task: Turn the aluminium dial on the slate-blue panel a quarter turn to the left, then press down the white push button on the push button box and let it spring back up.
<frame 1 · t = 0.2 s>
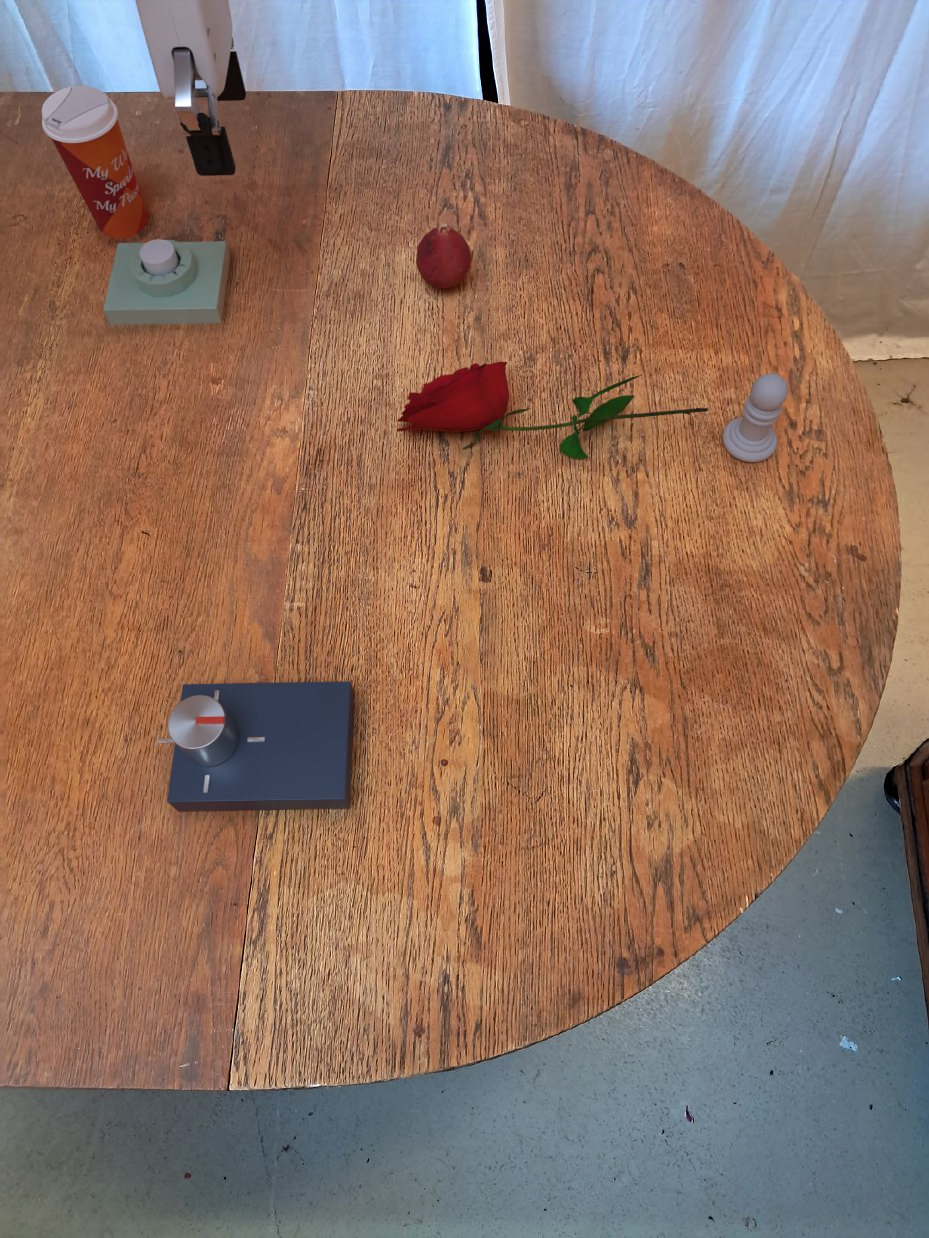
hand: (223, 135, 77), 21 cm above the table, tool pointing down, fingers open, 9 cm apart
white push button: (159, 257, 95), point 4 cm above the table, slide at 0.1 cm
chess piece: (747, 443, 89), on the table
push button box: (172, 290, 99), on the table
dial panel: (269, 751, 75), on the table
red round fruit: (444, 287, 99), on the table
dial: (203, 730, 70), point 5 cm above the table, hinge at 0.0°
flower: (545, 431, 90), on the table
paper cup: (124, 223, 104), on the table
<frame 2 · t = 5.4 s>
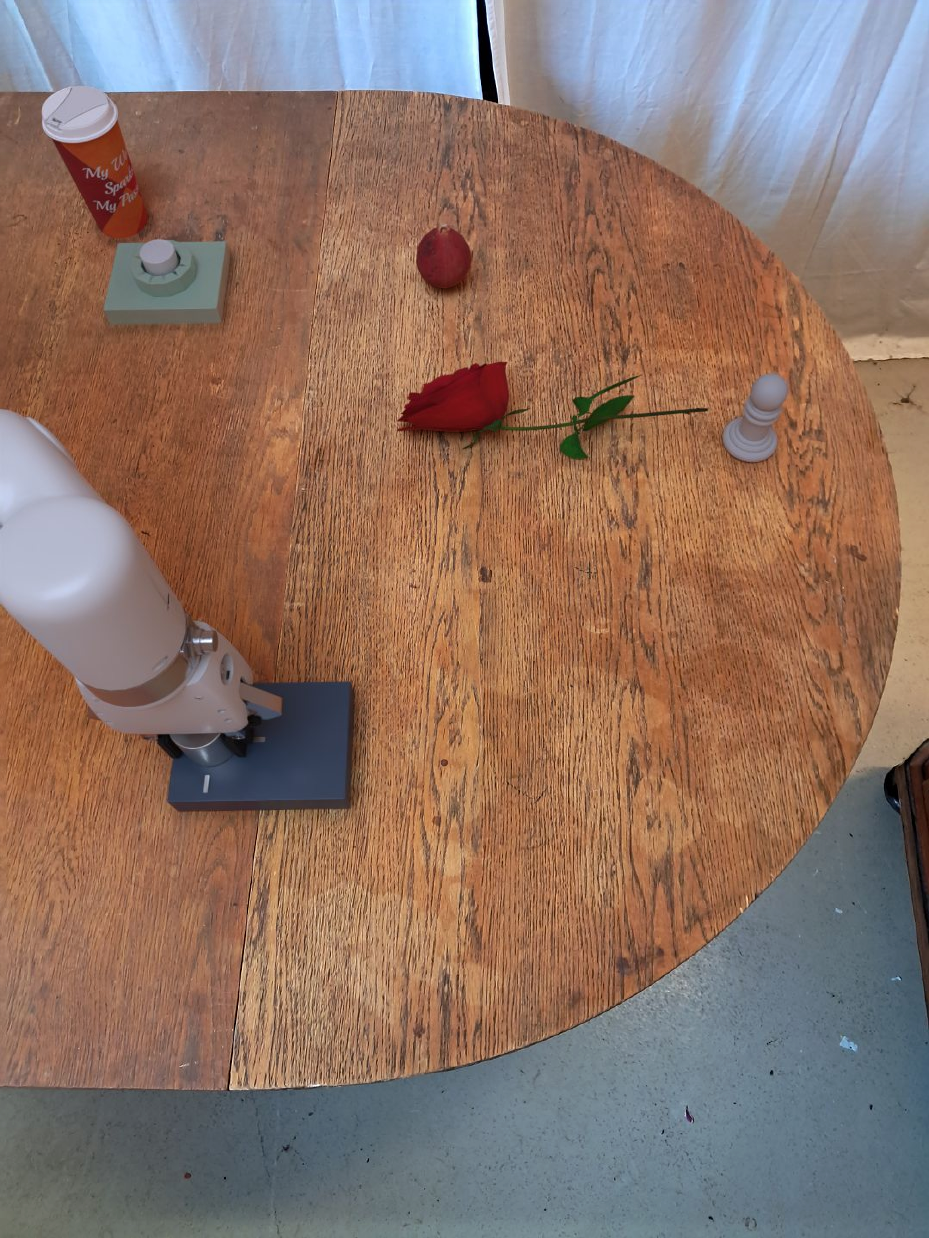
hand: (210, 739, 72), 3 cm above the table, tool pointing down, fingers closed on dial, 4 cm apart
dial: (203, 730, 70), point 5 cm above the table, hinge at 0.1°, touching gripper
everything else where it was.
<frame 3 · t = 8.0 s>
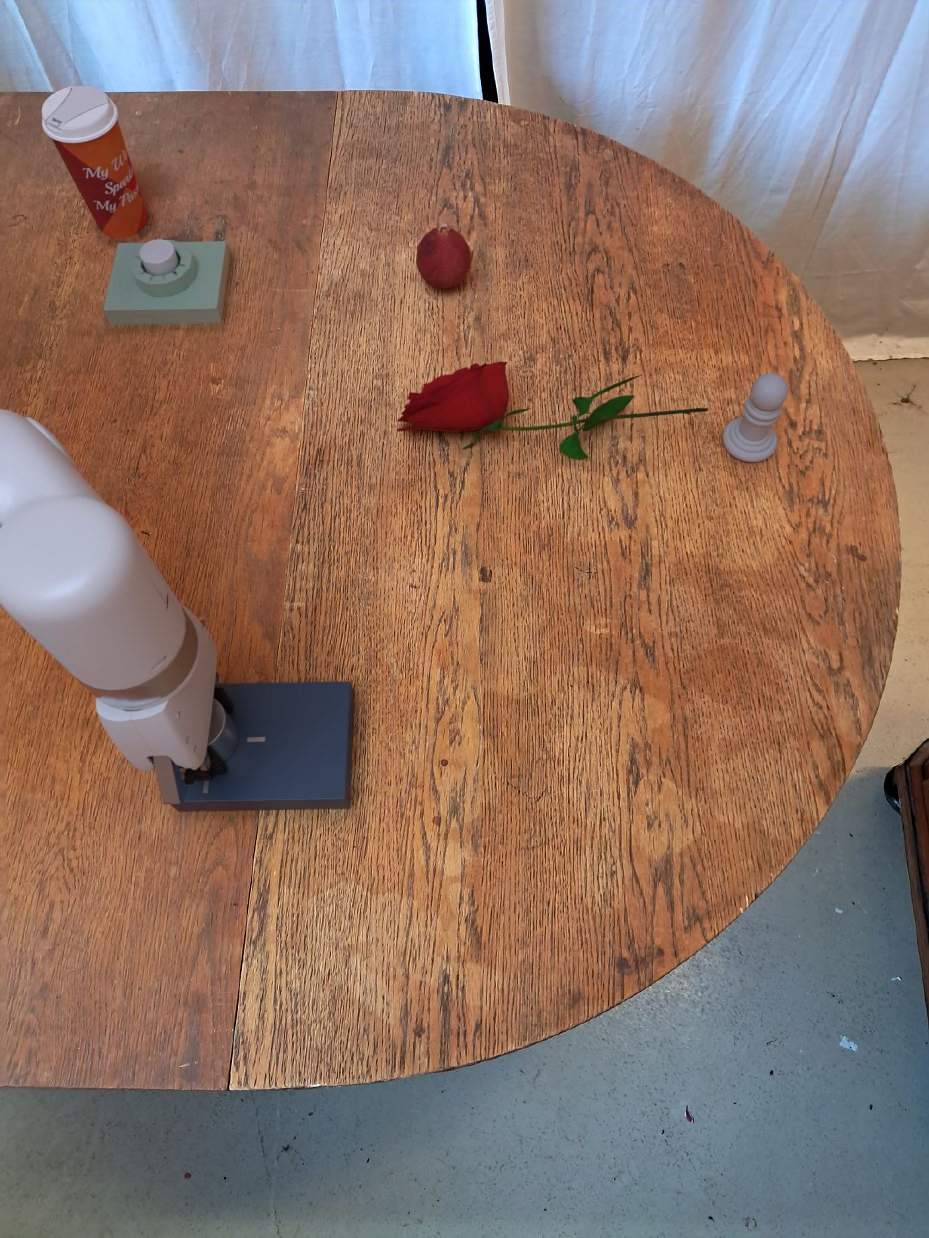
hand: (210, 739, 72), 3 cm above the table, tool pointing down, fingers closed on dial, 4 cm apart
dial: (203, 730, 70), point 5 cm above the table, hinge at 90.3°, touching gripper
everything else where it was.
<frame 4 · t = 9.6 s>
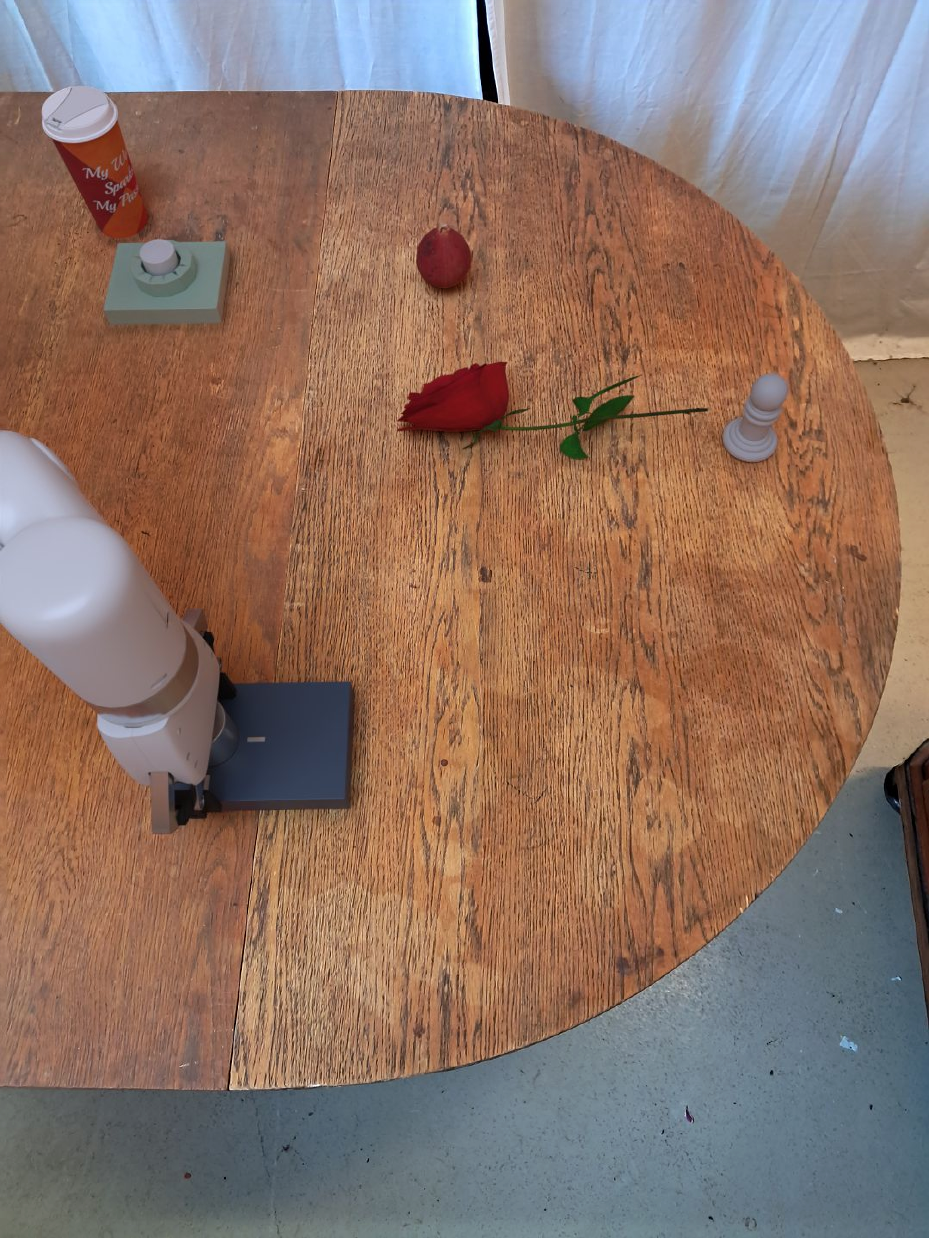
hand: (210, 750, 72), 3 cm above the table, tool pointing down, fingers open, 9 cm apart
dial: (203, 730, 70), point 5 cm above the table, hinge at 87.4°
everything else where it was.
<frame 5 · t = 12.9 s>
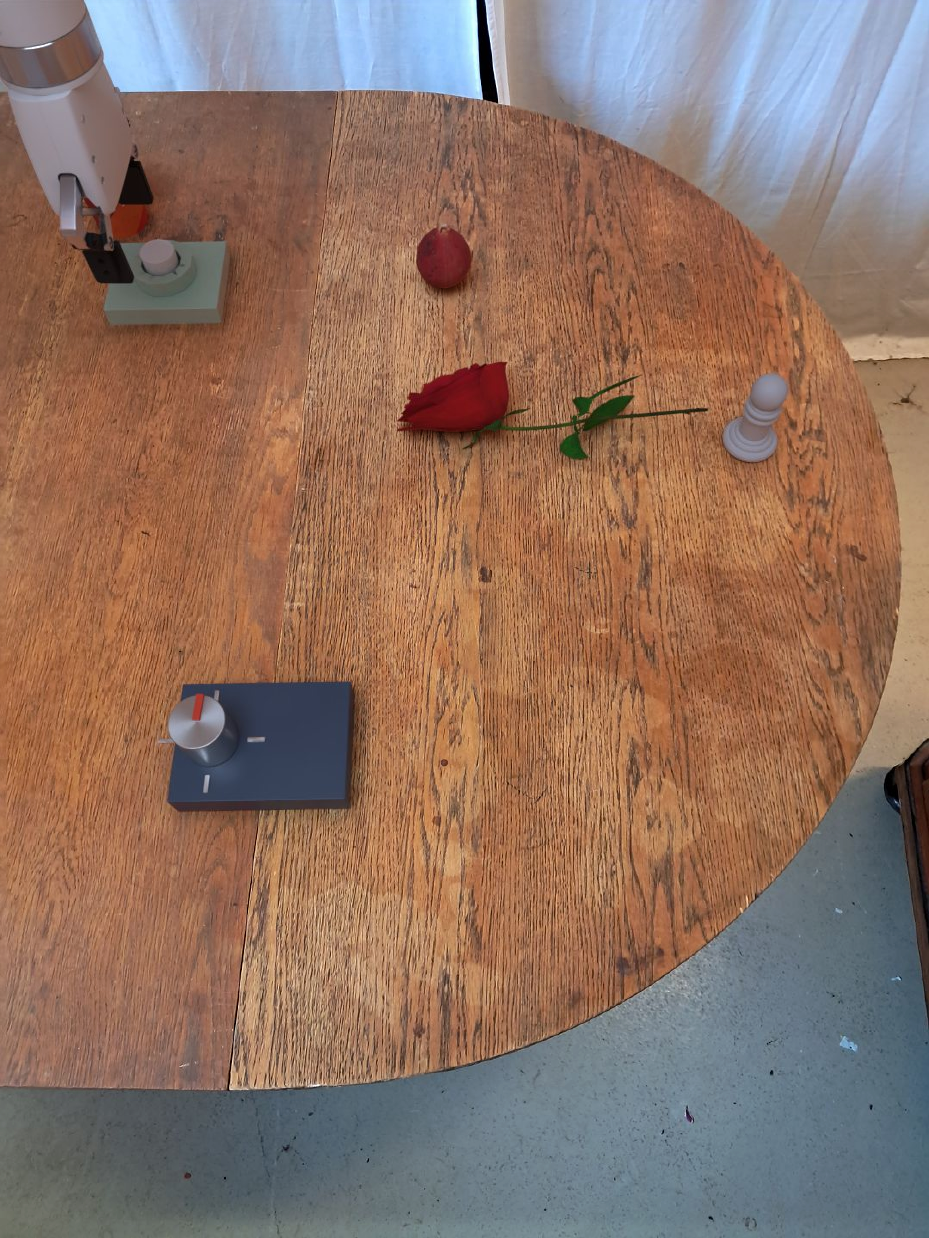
hand: (126, 240, 79), 16 cm above the table, tool pointing down, fingers open, 9 cm apart
nothing on the table moved.
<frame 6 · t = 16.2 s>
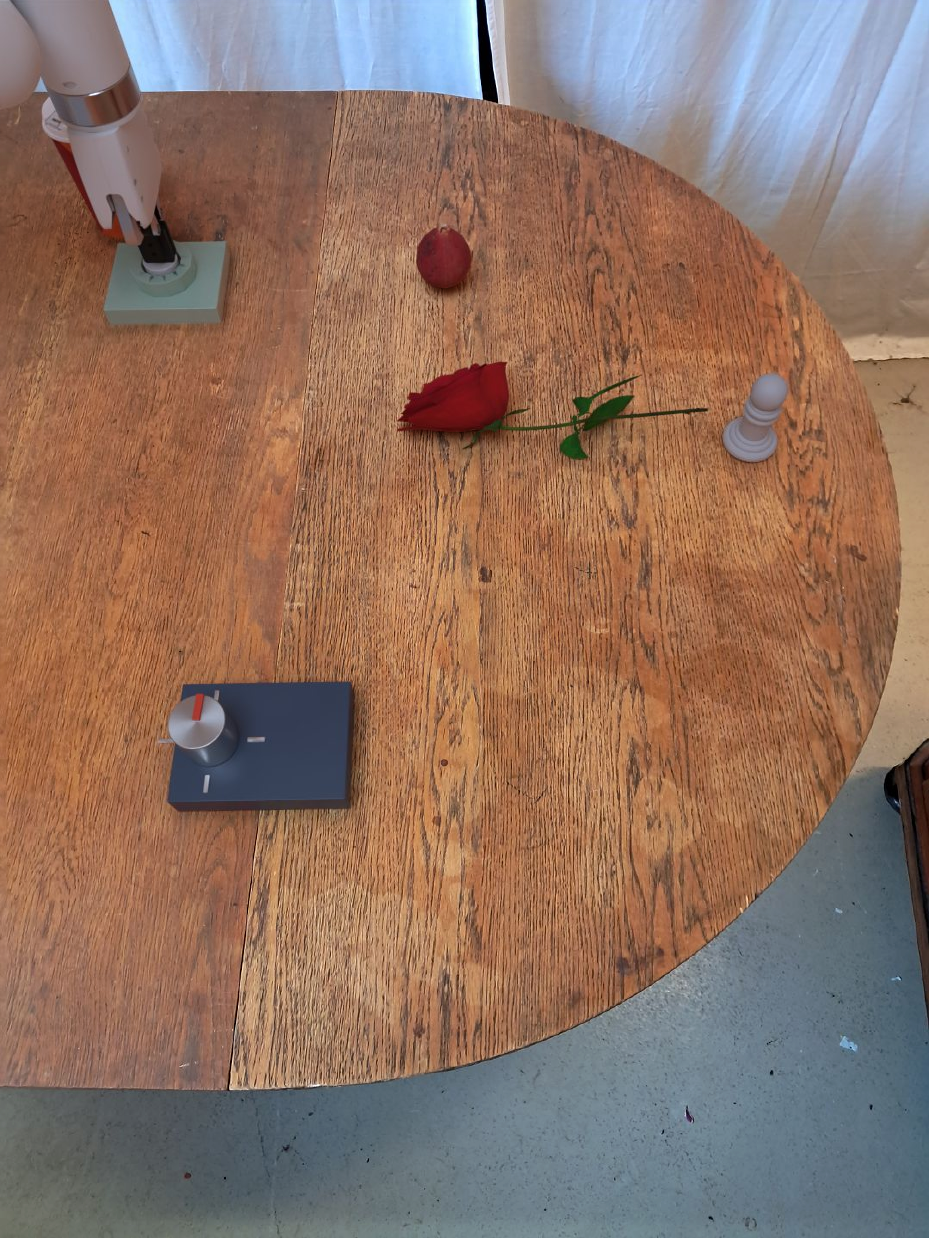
hand: (161, 257, 95), 4 cm above the table, tool pointing down, fingers closed
white push button: (162, 265, 95), point 4 cm above the table, slide at -0.9 cm, touching gripper
everything else where it was.
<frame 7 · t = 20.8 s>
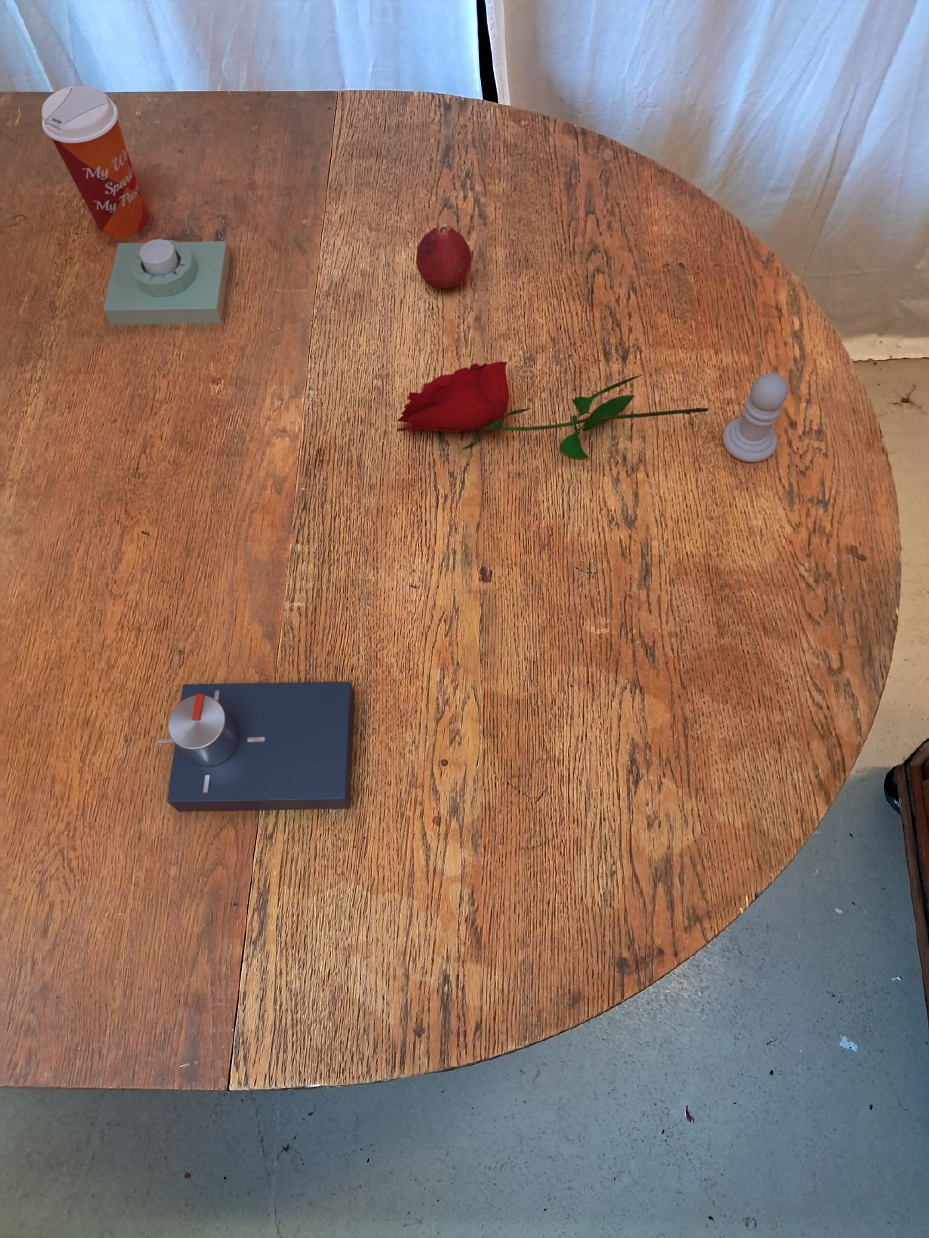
white push button: (159, 257, 95), point 4 cm above the table, slide at 0.1 cm
everything else where it was.
at the end: dial at +87° (first picture: +0°); white push button pushed in 1.1 cm at the most during the clip, back to where it started at the end; white push button slide at 0.1 cm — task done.
